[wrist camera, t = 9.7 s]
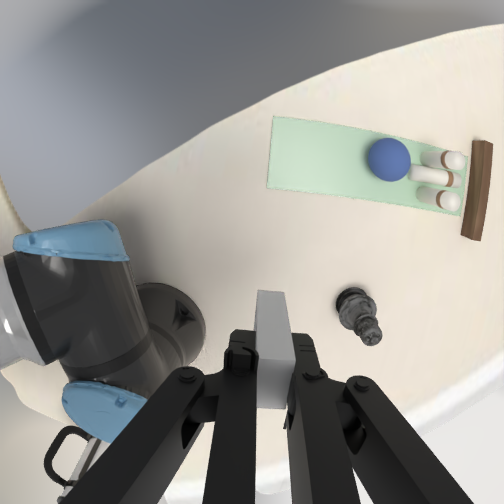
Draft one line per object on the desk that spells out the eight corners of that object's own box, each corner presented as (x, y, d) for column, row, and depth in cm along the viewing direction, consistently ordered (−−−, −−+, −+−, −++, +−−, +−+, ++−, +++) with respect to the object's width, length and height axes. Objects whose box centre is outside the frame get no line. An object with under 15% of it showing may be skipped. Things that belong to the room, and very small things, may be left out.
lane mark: (266, 188, 42) (266, 188, 41) (273, 116, 39) (273, 116, 39) (459, 216, 42) (460, 216, 41) (467, 156, 39) (467, 156, 39)
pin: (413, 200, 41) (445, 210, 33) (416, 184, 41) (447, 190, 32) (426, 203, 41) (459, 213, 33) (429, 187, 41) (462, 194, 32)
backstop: (460, 234, 42) (472, 239, 39) (472, 140, 38) (484, 140, 35) (468, 236, 42) (480, 241, 39) (480, 143, 38) (493, 143, 35)
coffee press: (138, 414, 55) (91, 530, 26) (158, 457, 59) (129, 558, 30) (74, 405, 56) (17, 497, 27) (98, 447, 60) (59, 533, 31)
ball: (415, 184, 37) (377, 184, 42) (414, 143, 37) (376, 144, 41) (404, 178, 33) (361, 178, 37) (402, 131, 32) (360, 134, 37)
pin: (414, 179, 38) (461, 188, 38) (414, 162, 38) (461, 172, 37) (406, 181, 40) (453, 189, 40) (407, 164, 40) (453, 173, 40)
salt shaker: (343, 281, 45) (367, 318, 34) (375, 291, 46) (405, 328, 34) (328, 314, 47) (346, 358, 35) (359, 323, 47) (383, 366, 36)
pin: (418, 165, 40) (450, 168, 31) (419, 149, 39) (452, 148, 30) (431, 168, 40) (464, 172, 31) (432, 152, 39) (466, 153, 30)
